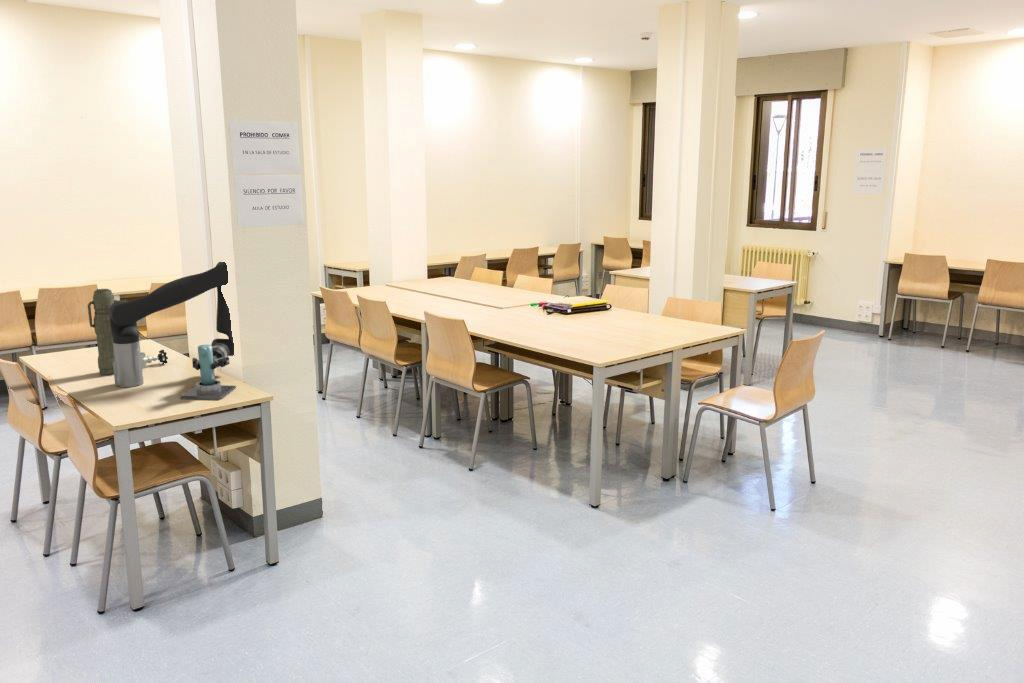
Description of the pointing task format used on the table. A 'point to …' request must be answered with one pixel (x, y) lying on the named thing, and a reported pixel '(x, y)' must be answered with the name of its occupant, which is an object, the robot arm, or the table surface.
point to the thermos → (103, 329)
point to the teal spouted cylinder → (206, 364)
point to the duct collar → (208, 391)
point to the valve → (153, 358)
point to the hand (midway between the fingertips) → (205, 367)
